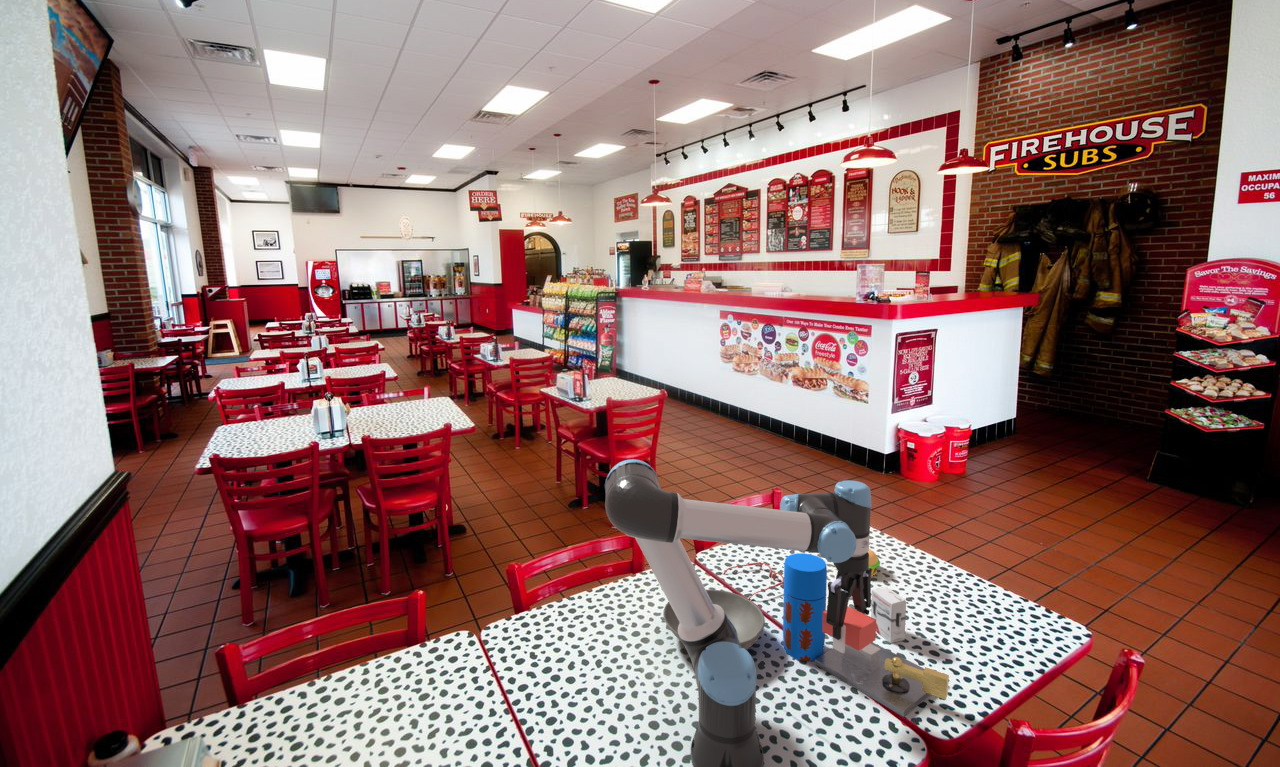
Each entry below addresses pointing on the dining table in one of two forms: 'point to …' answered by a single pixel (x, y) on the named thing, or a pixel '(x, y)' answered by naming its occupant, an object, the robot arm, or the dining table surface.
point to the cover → (855, 628)
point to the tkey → (919, 677)
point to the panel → (874, 676)
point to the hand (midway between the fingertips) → (848, 643)
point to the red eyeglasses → (769, 575)
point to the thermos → (804, 606)
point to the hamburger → (873, 562)
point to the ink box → (889, 614)
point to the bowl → (729, 616)
